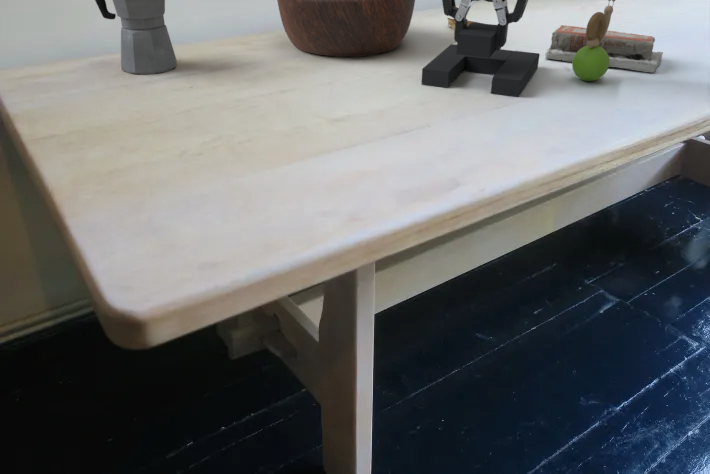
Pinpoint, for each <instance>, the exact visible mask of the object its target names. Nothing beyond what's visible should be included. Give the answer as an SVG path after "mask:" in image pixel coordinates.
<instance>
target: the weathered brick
mask: <svg viewBox="0 0 710 474" xmlns="http://www.w3.org/2000/svg"><path fill="white" fill-rule="evenodd" d="M586 28H587V27H583V26H581V27H580V26H575V25H563V24H562V25H560V26H559V27H557V28H556V30H554V31H553V32H552V34H551V43H550V47H549V48H548V49H547V50H546V52H545V54H544V55H545V59H548V60H553V61H561V60H562V62H568V63H569V62H570V63H572V62H573V58H574V56H575V54H576V53H577V52H578V51H579V50H580V49H581V48H583V47H585V46H587V44H586V42H587V41H588V39H587V37H586ZM655 41H656V38H655V37H653V36H652V35H645V34H637V33H628V32H621V31H616V30H615V31H614V30H607V32H606V35H605V37H604V39H603V40H602V41H601V43H600V44H599V45H598V46H600V47H602V48H603V49H604V50H605V51H606V52H607V54H608V56H609V67H608V68H610V67H611V68H618V69H625V70H631V71H639V72H645V73H651V74H652V73H654V72H655V71H656V70H657V67H658V66H659V65H660V63H661V61H662V59H663V54H664V52H663V51H657V52H656V51H653V49H654V45H655V44H654V43H655Z"/></svg>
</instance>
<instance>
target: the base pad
mask: <svg viewBox="0 0 710 474" xmlns="http://www.w3.org/2000/svg"><path fill="white" fill-rule="evenodd" d="M456 50H457V44H453V43H451V44H450V45H448V46H446V48H445V49H444V50H442V51H441V52H440V53H439V54H438V55H436V57H435V58H433V59H432V60H430V62H428V63H427V64H426V65H425V66H423V67H422V69H421V85H422V86H431V87H439V88H446V89H448V88H449V87H450V86H451V85H452V84H453V83H454V82H455V81H456V80H457V79H458V78H459V77H460V76H461V75H462V74H463V73H464V72H470V73H478V74H486V75H493V74H494V75H493V76H492V79H491V87H490V94H494V95H502V96H509V97H517V98H520V96H521V94H522V93H523V92H524V90H525V89H526V87H527V85H528V83H530V80H531V79H532V78H533V76H534V75H535V73H536V71H537V70H538V68H539V61H540V56H541V55H540V53H539V52H530V51H521V50H511V49H503V48H501V49H500V50H499V51H495V52H494V53H493V54H492V55H491V56H490V58H485V57H477V56H468V55H459V54H456Z"/></svg>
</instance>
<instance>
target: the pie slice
mask: <svg viewBox="0 0 710 474" xmlns="http://www.w3.org/2000/svg"><path fill="white" fill-rule="evenodd" d="M455 23H456V22H455V19H454V18H451V17H450V18H449V17H447V25H448V26H449V27H450V28H452V29H453V31H455ZM470 23H480V22H479V21H473V20H468V21H467V26H468V25H469V24H470ZM481 23H482V24H485V23H484V22H481Z"/></svg>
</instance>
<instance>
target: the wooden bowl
mask: <svg viewBox="0 0 710 474" xmlns="http://www.w3.org/2000/svg"><path fill="white" fill-rule="evenodd" d="M276 1H277V7H278V11H279V17H280V19H281V24H282V26H283V29H284V32H285V33H286V36H287V37H288V39H289V40H290V43H292V45H293V46H295V48H297V49H298V50H301V51H304V52H306V53H310V54H315V55H320V56H330V57H364V56H372V55H378V54H383V53H386V52H387V53H388V52H389V51H392V50H394V49H396V48H397V47H398V46H400V44H401V43H402V42H403V40H404V39H405V37H406V35H407V33H408V31H409V28H410V25H411V22H412V18H413V14H414V9H415V4H416V3H415V2H416V0H276Z"/></svg>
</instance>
